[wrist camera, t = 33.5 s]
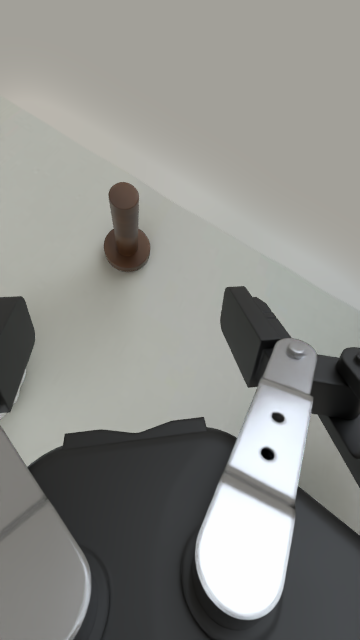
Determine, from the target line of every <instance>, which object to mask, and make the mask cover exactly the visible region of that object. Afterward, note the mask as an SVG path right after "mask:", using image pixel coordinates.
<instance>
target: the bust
mask: <svg viewBox="0 0 360 640" xmlns="http://www.w3.org/2000/svg"><path fill="white" fill-rule="evenodd" d="M25 375H26V369H25V372H24V375H23V378H22V380H21V383H20V386H21V385H22V383H23V381H24V379H25ZM20 386H19V389H18V392H17V395H16V397H15V400H14V403H15V402H16V401H17V399H18V396H19V391H20ZM14 403H13V404H14ZM5 415H6V413H0V419H1V418H3V417H4V416H5Z"/></svg>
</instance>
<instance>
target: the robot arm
mask: <svg viewBox="0 0 360 640" xmlns="http://www.w3.org/2000/svg"><path fill="white" fill-rule="evenodd" d="M220 323H221V329H222V332H223V334H224V336H225V339H226V341H227V343H228V345H229V347H230V349H231V352H232V354H233V356H234V358H235V360H236V363H237V365H238V367H239V369H240V371H241V373H242V376H243V378H244V380H245V382H246V384H247V387H248V388H250V387H257V389H256V392H255V395H254V397H253V400H252V402H251V405H250V407H249V410H248V412H247V415H246V417H245V420H244V422H243V425H242V427H241V430H240V432H239V435H238V437H237V438H236V437H235V436H233V435H231V434H229V433H227V432H224V431H221V430H218V429H214V428H208V427H206V424H205V420H204V417H200V418H191V419H183V420H175V421H170V422H167V423H165V424H162V425H159V426H156V427H154V428H151V429H148V430H146V431H143V432H140V433H128V432H119V431H110V430H93V431H85V432H76V433H68V434H65V437H64V443H63V446H61V447H58V448H56V449H54V450H52V451H50V452H48V453H46V454H44V455H43V456H41V457H40V458H38V459H37V460H36V461H34V462H33V463H31V464H30V465H29V466H28V467H27V466H26V465H25V463H24V462H23V460H22V458H21V457H20V455H19V454H18V452H17V451H16V449H15V447H14V446H13V444H12V443H11V441H10V440H9V438H8V437H7V435H6V433H5V432H4V430H3V429H2V427H1V426H0V640H360V535H358V534H357V533H356V532H355V531H353V530H352V529H351V528H350V527H348V526H347V525H346V524H345V523H343V522H342V521H341V520H340V519H338V518H337V517H336V516H335V515H333V514H332V513H331V512H330V511H328V510H327V509H326V508H325V507H323V506H322V505H321V504H320V503H318V502H317V501H316V500H315V499H313V498H312V497H311V496H310V495H308V494H307V493H306V492H305V491H303V490H302V489H301V488H300V487H298V482H299V477H300V471H301V466H302V460H303V454H304V449H305V443H306V438H307V432H308V427H309V421H310V415H311V413H312V414H318V416H319V418H320V419H321V421H322V423H323V425H324V426H325V428H326V430H327V432H328V433H329V435H330V437H331V439H332V440H333V442H334V444H335V446H336V447H337V449H338V451H339V453H340V454H341V456H342V458H343V460H344V461H345V463H346V465H347V467H348V468H349V470H350V472H351V474H352V475H353V477H354V479H355V481H356V482H357V484H358V486H359V488H360V348H356V347H351V348H346V349H344V350H343V352H342V354H341V356H340V358H337V357H330V356H323V355H318V354H317V353H316V351H315V350H314V349H313V348H312V347H311V346H310V345H309V344H307V343H306V342H303V341H301V340H298V339H294V338H291V336H290V335H289V334H288V332H287V331H286V330H285V328H284V327H283V326H282V324H281V323H280V322H279V320H278V319H276V316H275V315H274V314H273V312H271V310H270V308H269V307H268V306H267V304H266V303H265V302H263V301H262V300H260V299H259V298H257V297H252V296H251V295H250V293H249V292H248V290H247V289H246V288H245V287H244V286H240V287H227V288H226V289H225V292H224V299H223V305H222V311H221V318H220ZM34 343H35V331H34V327H33V324H32V321H31V318H30V315H29V312H28V309H27V305H26V302H25V300H24V298H23V297H21V296H18V297H0V413H8V412H11V409H12V406H13V403H14V400H15V397H16V395H17V392H18V389H19V386H20V383H21V380H22V378H23V375H24V372H25V369H26V366H27V363H28V361H29V358H30V355H31V352H32V349H33V346H34Z"/></svg>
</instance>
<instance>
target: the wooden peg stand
mask: <svg viewBox="0 0 360 640" xmlns="http://www.w3.org/2000/svg"><path fill="white" fill-rule="evenodd" d="M109 202H110V208H111V215H112V221H113V227H114V229H113V230H111V231H110V232H109V233H108V235H107V236H106V238H105V241H104V251H105V255H106V258H107V260H108V262H109V263H110V264H111V265H112V266H113V267H114V268H116V269H118V270H120V271H125V272H131V271H136V270H138V269H140V268H141V267H143V266H144V265H145V263H146V262H147V260H148V258H149V254H150V243H149V240H148V238H147V236H146V235H145V233H144V232H143V231H141V230H140V229H138V215H139V194H138V191H137V190H136V188H135V187H134V186H133V185H131V184H129V183H125V182H120V183H117V184H115V185H113V186H112V187H111V189H110V191H109Z"/></svg>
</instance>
